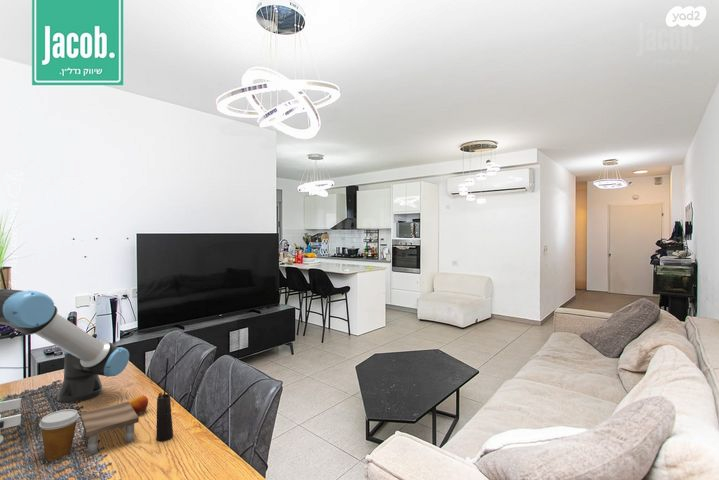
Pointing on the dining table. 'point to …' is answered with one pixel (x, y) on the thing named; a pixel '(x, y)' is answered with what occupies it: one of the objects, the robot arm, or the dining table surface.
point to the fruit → (139, 403)
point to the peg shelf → (108, 423)
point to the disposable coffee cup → (58, 433)
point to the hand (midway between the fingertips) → (21, 410)
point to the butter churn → (164, 415)
